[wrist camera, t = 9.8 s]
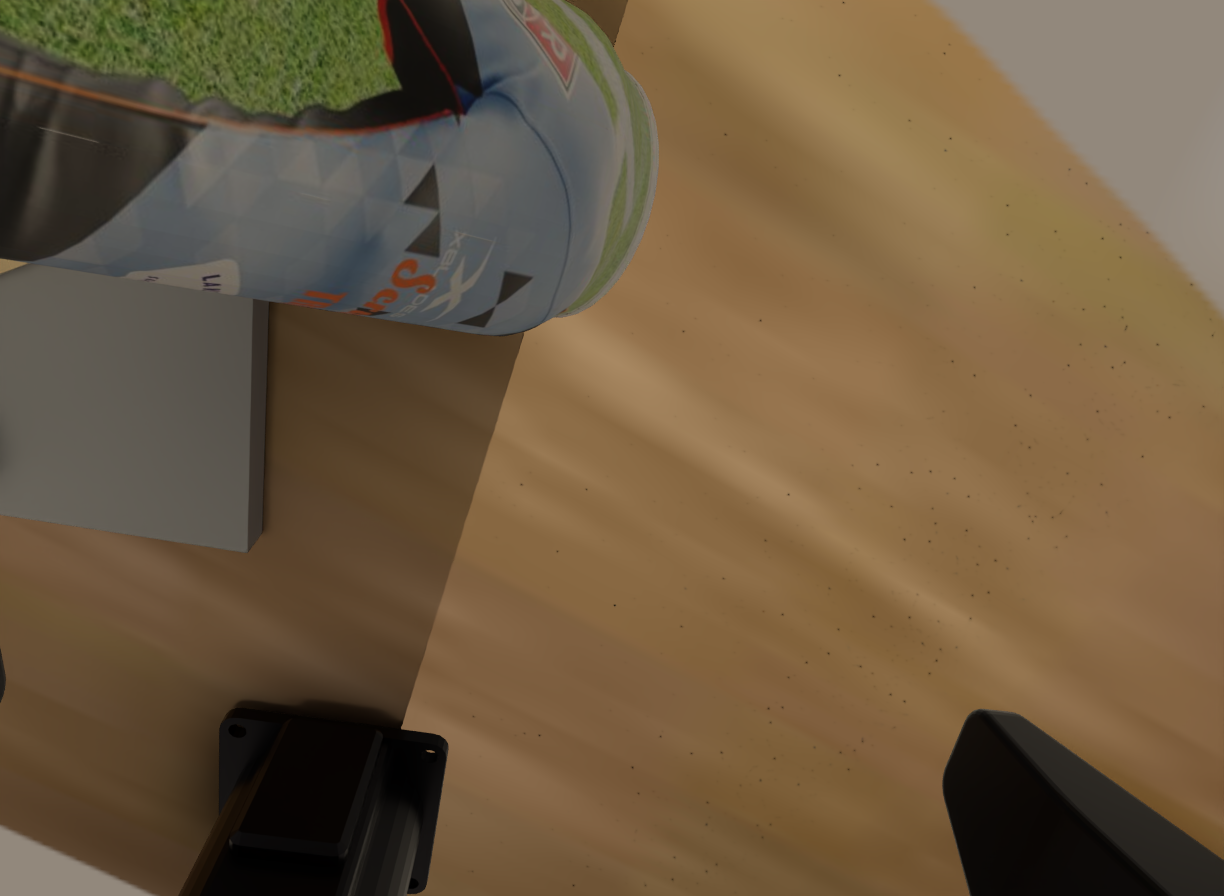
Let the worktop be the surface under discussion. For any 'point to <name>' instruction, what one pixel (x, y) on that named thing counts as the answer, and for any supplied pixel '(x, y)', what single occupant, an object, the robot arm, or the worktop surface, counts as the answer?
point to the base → (132, 406)
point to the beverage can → (328, 152)
